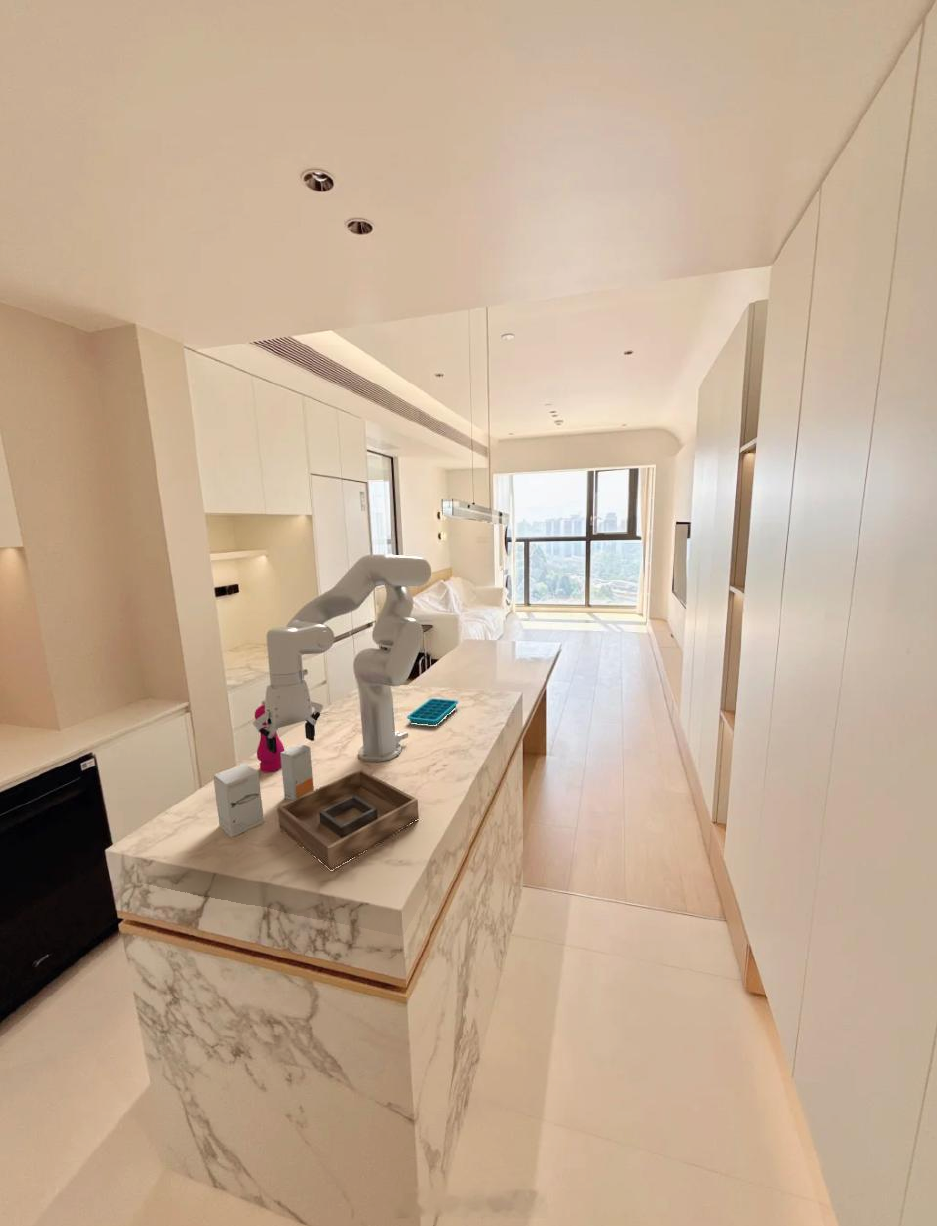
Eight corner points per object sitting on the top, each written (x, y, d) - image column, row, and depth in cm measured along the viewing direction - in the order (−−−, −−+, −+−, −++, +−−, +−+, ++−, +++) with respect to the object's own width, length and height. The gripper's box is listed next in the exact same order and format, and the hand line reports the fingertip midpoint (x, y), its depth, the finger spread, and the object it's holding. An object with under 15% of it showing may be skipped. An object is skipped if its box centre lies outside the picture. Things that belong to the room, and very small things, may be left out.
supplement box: (231, 838, 103) (224, 784, 101) (218, 825, 108) (211, 773, 106) (265, 823, 108) (259, 771, 106) (251, 811, 113) (245, 761, 111)
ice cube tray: (406, 725, 162) (405, 717, 161) (431, 705, 180) (431, 698, 180) (436, 729, 158) (436, 721, 157) (460, 708, 176) (459, 700, 176)
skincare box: (295, 802, 116) (290, 756, 115) (284, 797, 119) (279, 752, 117) (315, 790, 122) (310, 746, 120) (304, 786, 124) (299, 743, 122)
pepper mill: (276, 774, 131) (268, 704, 128) (253, 772, 132) (244, 704, 129) (291, 761, 138) (283, 695, 135) (268, 760, 139) (261, 695, 136)
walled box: (362, 787, 122) (361, 769, 121) (418, 819, 107) (417, 799, 106) (279, 827, 106) (277, 806, 105) (331, 872, 91) (329, 848, 90)
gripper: (312, 668, 124) (316, 731, 126) (243, 683, 112) (250, 752, 114) (327, 673, 119) (331, 738, 121) (257, 689, 106) (263, 761, 109)
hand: (292, 745), depth 117 cm, fingers open, 9 cm apart
